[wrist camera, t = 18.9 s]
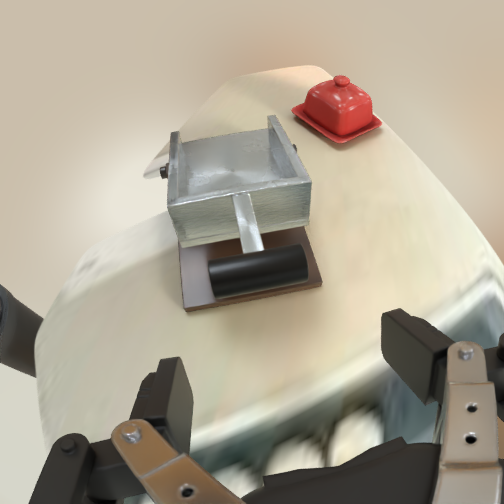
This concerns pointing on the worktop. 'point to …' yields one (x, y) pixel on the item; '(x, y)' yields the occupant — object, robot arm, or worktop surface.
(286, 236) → the stand
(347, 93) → the butter dish
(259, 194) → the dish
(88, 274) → the worktop surface
